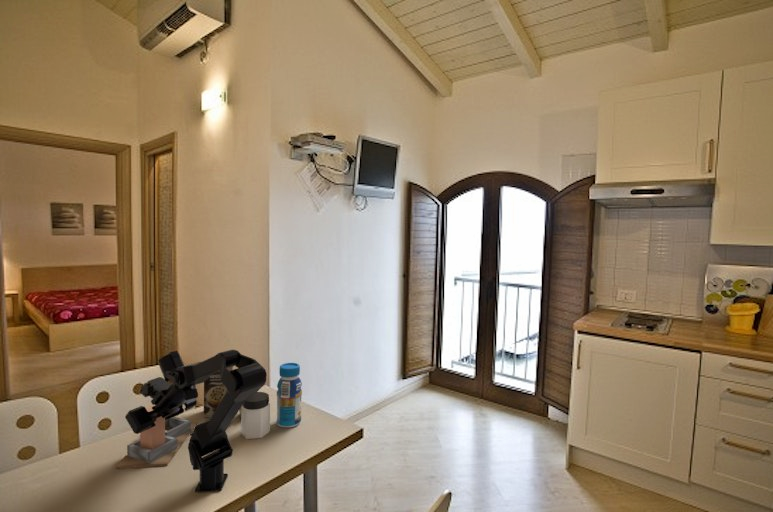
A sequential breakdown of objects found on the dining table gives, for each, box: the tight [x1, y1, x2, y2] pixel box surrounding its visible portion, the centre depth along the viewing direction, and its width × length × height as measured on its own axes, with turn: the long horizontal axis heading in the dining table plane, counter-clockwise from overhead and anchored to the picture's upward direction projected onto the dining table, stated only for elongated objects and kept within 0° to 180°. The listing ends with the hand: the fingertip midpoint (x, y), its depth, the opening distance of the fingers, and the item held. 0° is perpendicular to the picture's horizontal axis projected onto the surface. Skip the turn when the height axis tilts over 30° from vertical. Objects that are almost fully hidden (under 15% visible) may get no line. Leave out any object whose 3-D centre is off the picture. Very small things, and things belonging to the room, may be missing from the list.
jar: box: [240, 391, 271, 440], centre depth 127 cm, size 9×8×12 cm
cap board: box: [115, 416, 198, 469], centre depth 119 cm, size 24×13×4 cm, turn 8°
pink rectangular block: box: [139, 405, 165, 450], centre depth 113 cm, size 5×4×12 cm
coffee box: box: [202, 366, 234, 418], centre depth 140 cm, size 9×6×16 cm
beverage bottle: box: [276, 362, 303, 429], centre depth 134 cm, size 8×8×20 cm
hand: (149, 424), depth 114 cm, fingers open, 5 cm apart
